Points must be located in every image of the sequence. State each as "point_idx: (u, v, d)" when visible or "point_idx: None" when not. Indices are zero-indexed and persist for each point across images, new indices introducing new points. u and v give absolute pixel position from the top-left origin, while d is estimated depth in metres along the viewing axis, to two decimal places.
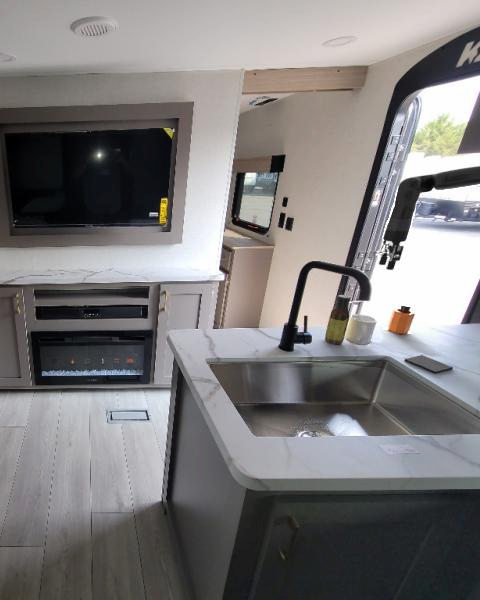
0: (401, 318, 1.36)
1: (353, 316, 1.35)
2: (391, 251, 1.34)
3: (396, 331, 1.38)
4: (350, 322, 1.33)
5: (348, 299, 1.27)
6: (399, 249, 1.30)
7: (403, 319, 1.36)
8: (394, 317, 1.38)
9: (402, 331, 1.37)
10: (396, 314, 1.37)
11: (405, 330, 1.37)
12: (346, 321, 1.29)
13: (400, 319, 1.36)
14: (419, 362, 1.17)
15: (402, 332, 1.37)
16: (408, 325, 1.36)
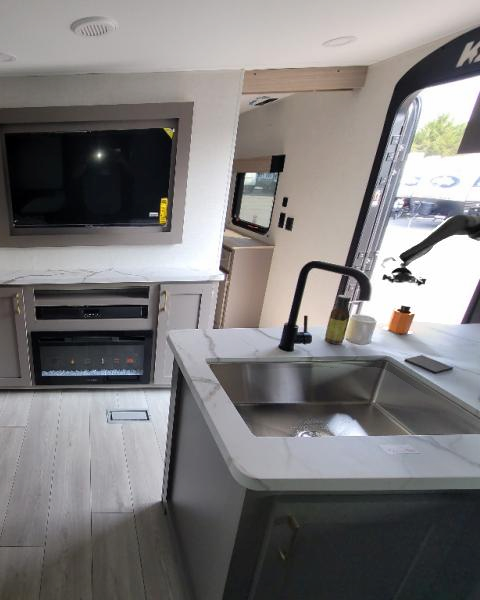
0: (401, 318, 1.36)
1: (353, 316, 1.35)
2: (393, 278, 1.49)
3: (396, 331, 1.38)
4: (350, 322, 1.33)
5: (348, 299, 1.27)
6: (382, 274, 1.53)
7: (403, 319, 1.36)
8: (394, 317, 1.38)
9: (402, 331, 1.37)
10: (396, 314, 1.37)
11: (405, 330, 1.37)
12: (346, 321, 1.29)
13: (400, 319, 1.36)
14: (419, 362, 1.17)
15: (402, 332, 1.37)
16: (408, 325, 1.36)
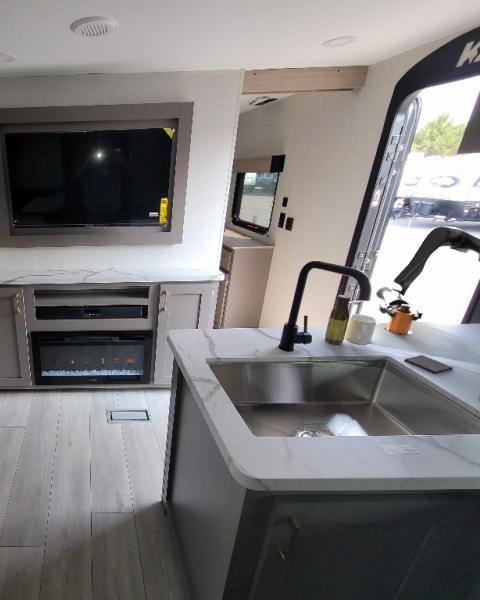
0: (401, 318, 1.36)
1: (353, 316, 1.35)
2: None
3: (396, 331, 1.38)
4: (350, 322, 1.33)
5: (348, 299, 1.27)
6: (379, 306, 1.46)
7: (403, 319, 1.36)
8: (394, 317, 1.38)
9: (402, 331, 1.37)
10: (396, 314, 1.37)
11: (405, 330, 1.37)
12: (346, 321, 1.29)
13: (400, 319, 1.36)
14: (419, 362, 1.17)
15: (403, 332, 1.37)
16: (408, 325, 1.36)
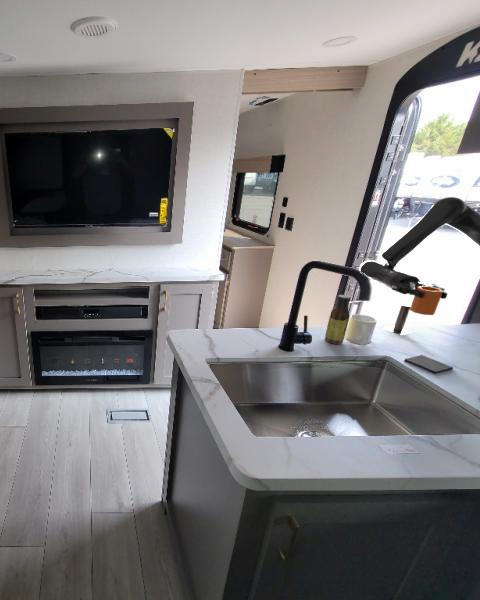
0: (432, 297, 1.15)
1: (353, 316, 1.35)
2: None
3: (426, 313, 1.18)
4: (350, 322, 1.33)
5: (348, 299, 1.27)
6: (394, 286, 1.25)
7: (434, 298, 1.15)
8: None
9: (432, 312, 1.17)
10: (425, 293, 1.16)
11: (434, 310, 1.17)
12: (346, 321, 1.29)
13: (431, 299, 1.16)
14: (419, 362, 1.17)
15: (432, 313, 1.17)
16: (437, 304, 1.17)
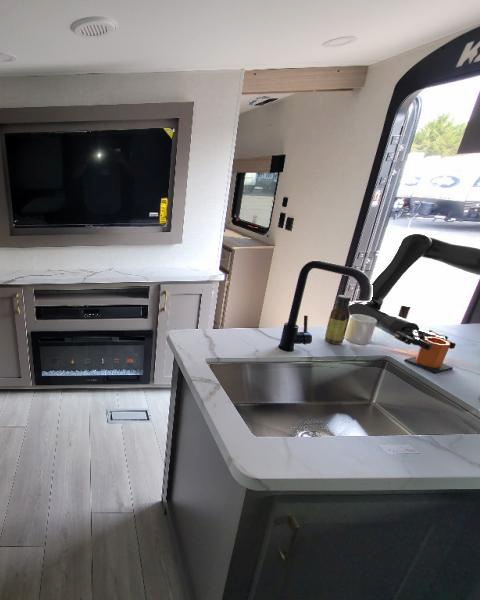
0: (441, 350, 1.12)
1: (353, 316, 1.35)
2: None
3: (435, 366, 1.14)
4: (350, 322, 1.33)
5: (348, 299, 1.27)
6: (397, 335, 1.21)
7: (443, 351, 1.12)
8: (431, 350, 1.13)
9: (440, 365, 1.14)
10: (434, 346, 1.12)
11: (442, 362, 1.14)
12: (346, 321, 1.29)
13: (440, 352, 1.12)
14: None
15: (440, 365, 1.14)
16: None
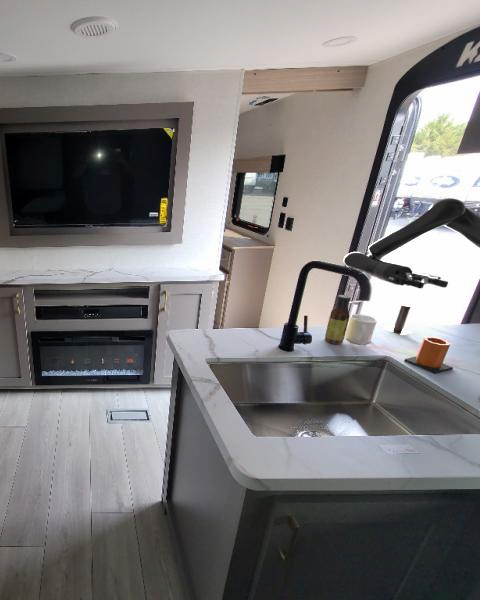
0: (441, 350, 1.12)
1: (353, 316, 1.35)
2: None
3: (435, 366, 1.14)
4: (350, 322, 1.33)
5: (348, 299, 1.27)
6: (391, 278, 1.22)
7: (443, 351, 1.12)
8: (431, 350, 1.13)
9: (440, 365, 1.14)
10: (434, 346, 1.12)
11: (442, 362, 1.14)
12: (346, 321, 1.29)
13: (440, 352, 1.12)
14: None
15: (440, 365, 1.14)
16: None
